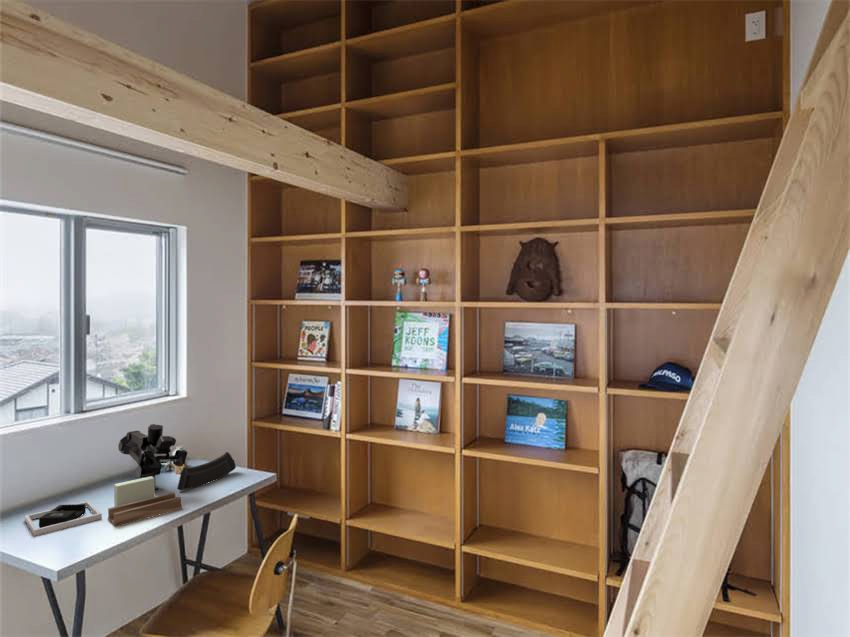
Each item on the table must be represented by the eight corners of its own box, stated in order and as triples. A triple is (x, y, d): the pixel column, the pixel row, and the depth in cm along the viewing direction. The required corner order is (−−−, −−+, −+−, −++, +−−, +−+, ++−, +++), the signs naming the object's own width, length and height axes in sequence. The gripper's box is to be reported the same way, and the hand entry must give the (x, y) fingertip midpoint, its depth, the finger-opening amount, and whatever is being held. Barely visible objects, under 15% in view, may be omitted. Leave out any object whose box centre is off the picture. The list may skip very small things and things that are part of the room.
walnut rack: (107, 519, 199) (107, 508, 199) (173, 502, 217) (173, 492, 217) (115, 526, 193) (115, 514, 193) (181, 508, 210) (181, 497, 210)
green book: (114, 508, 210) (114, 484, 210) (151, 499, 220) (151, 476, 220) (117, 511, 208) (117, 486, 207) (154, 501, 218) (154, 478, 217)
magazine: (177, 474, 225) (229, 439, 250) (172, 473, 226) (224, 438, 252) (187, 508, 230) (237, 470, 255) (182, 506, 231) (232, 469, 257)
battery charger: (66, 528, 193) (66, 517, 193) (38, 528, 192) (38, 518, 192) (85, 513, 206) (85, 503, 205) (60, 514, 205) (60, 504, 205)
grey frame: (24, 520, 198) (24, 515, 197) (88, 505, 213) (88, 500, 213) (34, 536, 185) (34, 530, 185) (101, 518, 200) (101, 513, 200)
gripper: (138, 433, 217) (152, 447, 207) (183, 433, 231) (198, 446, 221) (131, 459, 217) (145, 474, 207) (176, 457, 231) (191, 471, 221)
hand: (171, 465), depth 214 cm, fingers open, 9 cm apart
